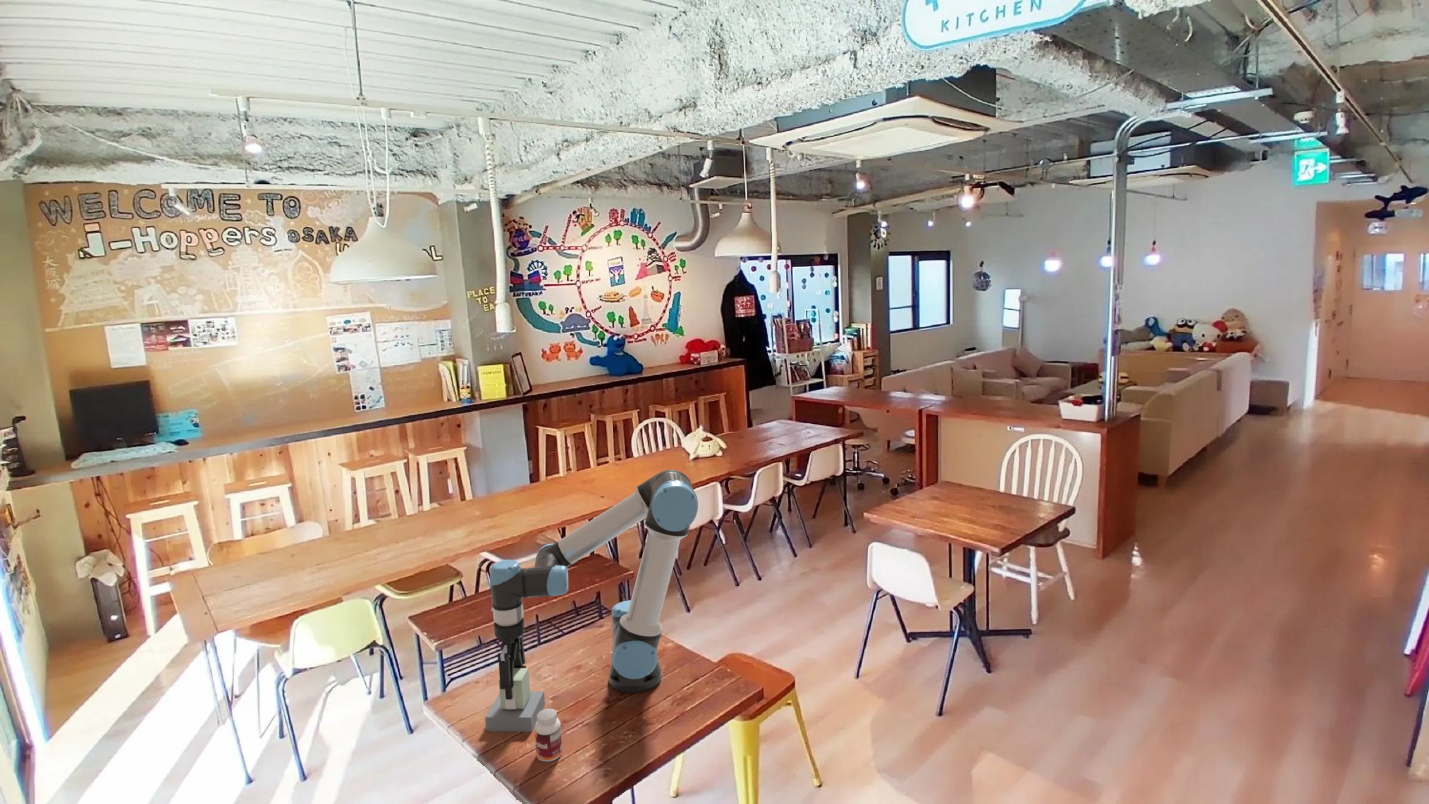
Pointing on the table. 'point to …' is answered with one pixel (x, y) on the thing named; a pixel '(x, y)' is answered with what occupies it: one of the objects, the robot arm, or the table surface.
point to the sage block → (518, 688)
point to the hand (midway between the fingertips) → (515, 700)
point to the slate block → (515, 715)
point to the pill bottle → (548, 735)
